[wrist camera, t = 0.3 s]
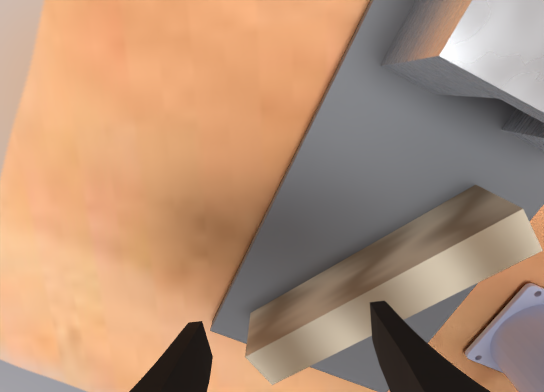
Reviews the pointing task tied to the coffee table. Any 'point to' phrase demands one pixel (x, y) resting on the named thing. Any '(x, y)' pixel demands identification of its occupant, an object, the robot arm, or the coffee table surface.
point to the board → (376, 183)
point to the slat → (390, 280)
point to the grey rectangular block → (478, 55)
